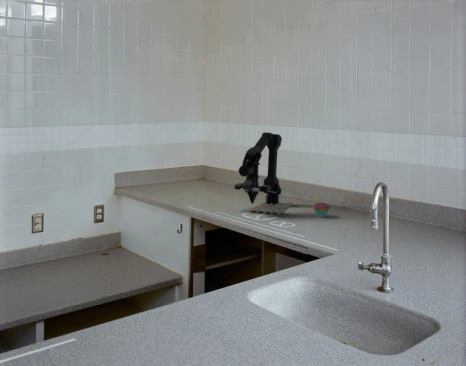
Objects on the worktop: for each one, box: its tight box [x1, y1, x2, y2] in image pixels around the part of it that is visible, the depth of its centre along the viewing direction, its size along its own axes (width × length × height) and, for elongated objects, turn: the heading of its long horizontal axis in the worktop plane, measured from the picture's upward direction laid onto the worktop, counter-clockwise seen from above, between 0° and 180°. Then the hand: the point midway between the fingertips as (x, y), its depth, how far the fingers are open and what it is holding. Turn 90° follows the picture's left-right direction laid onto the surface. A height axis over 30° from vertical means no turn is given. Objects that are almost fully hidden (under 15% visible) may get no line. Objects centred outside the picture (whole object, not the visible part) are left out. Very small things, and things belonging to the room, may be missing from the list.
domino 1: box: [247, 202, 267, 212], centre depth 292 cm, size 2×5×8 cm
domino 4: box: [270, 202, 287, 214], centre depth 287 cm, size 2×5×8 cm
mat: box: [239, 208, 290, 218], centre depth 291 cm, size 25×9×1 cm, turn 64°
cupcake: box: [312, 194, 331, 218], centre depth 284 cm, size 9×8×12 cm
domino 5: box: [277, 201, 293, 215], centre depth 285 cm, size 2×5×8 cm
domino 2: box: [256, 203, 274, 213], centre depth 290 cm, size 2×5×8 cm
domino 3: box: [263, 202, 281, 213], centre depth 288 cm, size 2×5×8 cm
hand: (252, 203), depth 293 cm, fingers closed
